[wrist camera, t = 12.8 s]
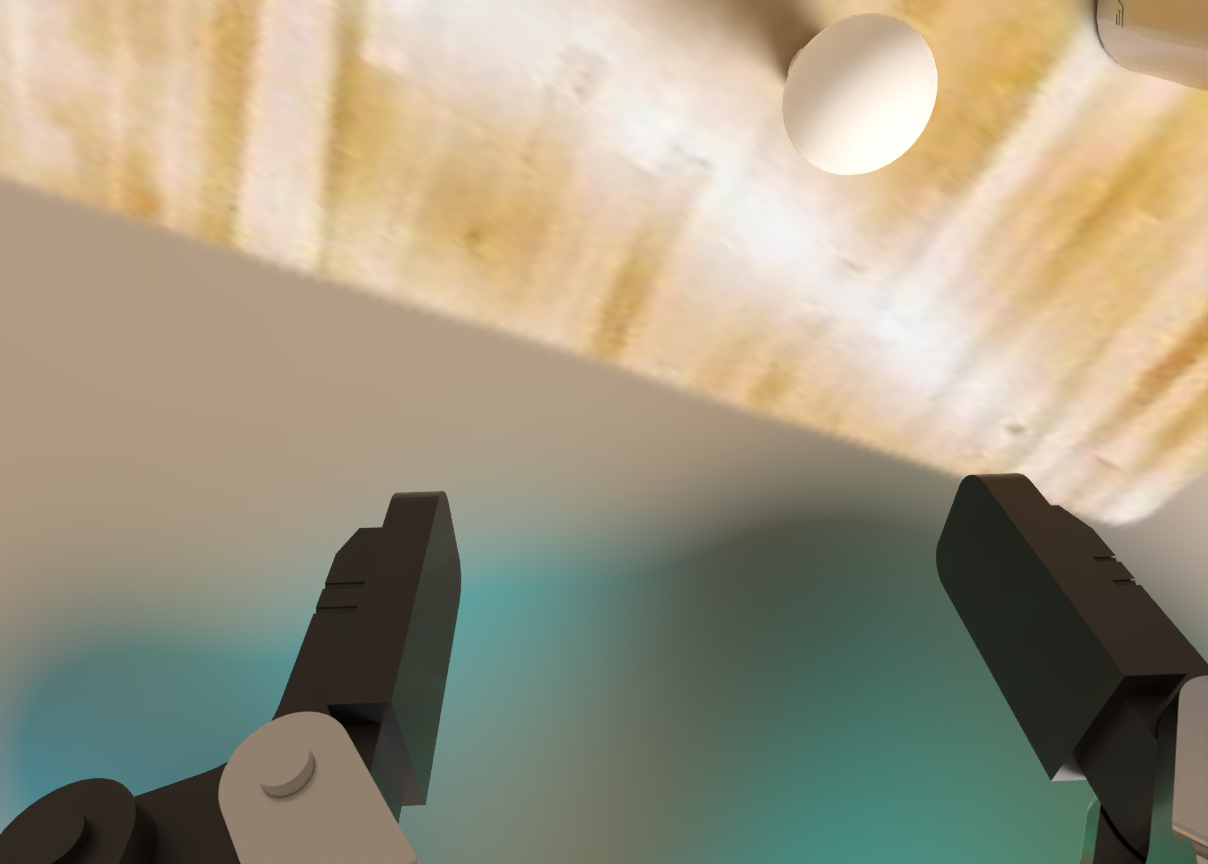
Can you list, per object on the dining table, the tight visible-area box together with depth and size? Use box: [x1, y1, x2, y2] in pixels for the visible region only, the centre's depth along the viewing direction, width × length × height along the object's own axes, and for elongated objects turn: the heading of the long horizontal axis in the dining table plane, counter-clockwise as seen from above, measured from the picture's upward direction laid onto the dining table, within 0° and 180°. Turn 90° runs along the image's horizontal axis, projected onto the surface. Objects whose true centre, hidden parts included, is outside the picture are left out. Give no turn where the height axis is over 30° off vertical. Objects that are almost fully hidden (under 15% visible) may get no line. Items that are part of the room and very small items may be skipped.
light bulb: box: [782, 14, 937, 175], centre depth 34 cm, size 7×7×11 cm
